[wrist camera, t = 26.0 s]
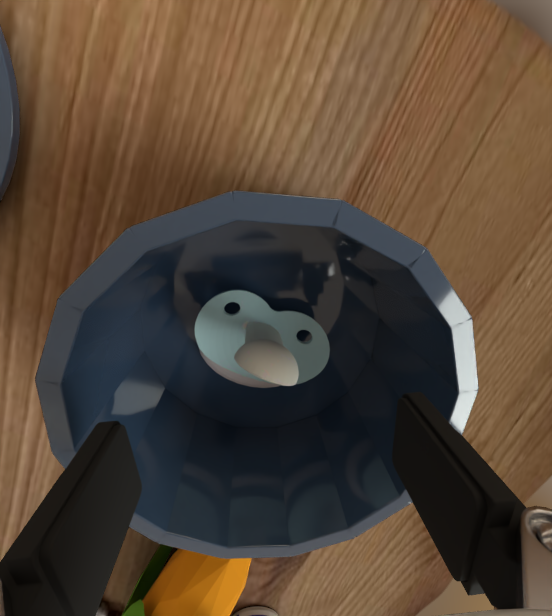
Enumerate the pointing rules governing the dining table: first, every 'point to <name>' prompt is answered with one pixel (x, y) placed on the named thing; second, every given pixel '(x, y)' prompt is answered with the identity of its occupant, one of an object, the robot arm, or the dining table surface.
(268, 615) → the energy drink
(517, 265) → the dining table surface
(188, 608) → the corn
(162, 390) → the canister
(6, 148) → the lid
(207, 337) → the pacifier
